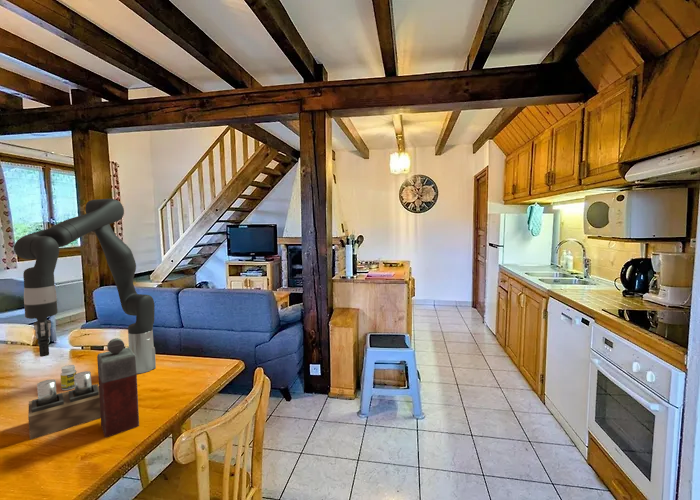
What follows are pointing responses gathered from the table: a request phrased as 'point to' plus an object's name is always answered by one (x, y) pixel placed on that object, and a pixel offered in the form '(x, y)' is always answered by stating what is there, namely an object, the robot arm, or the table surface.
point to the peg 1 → (46, 392)
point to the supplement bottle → (68, 377)
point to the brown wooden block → (63, 412)
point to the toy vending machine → (117, 388)
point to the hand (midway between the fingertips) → (44, 355)
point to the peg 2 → (82, 383)
